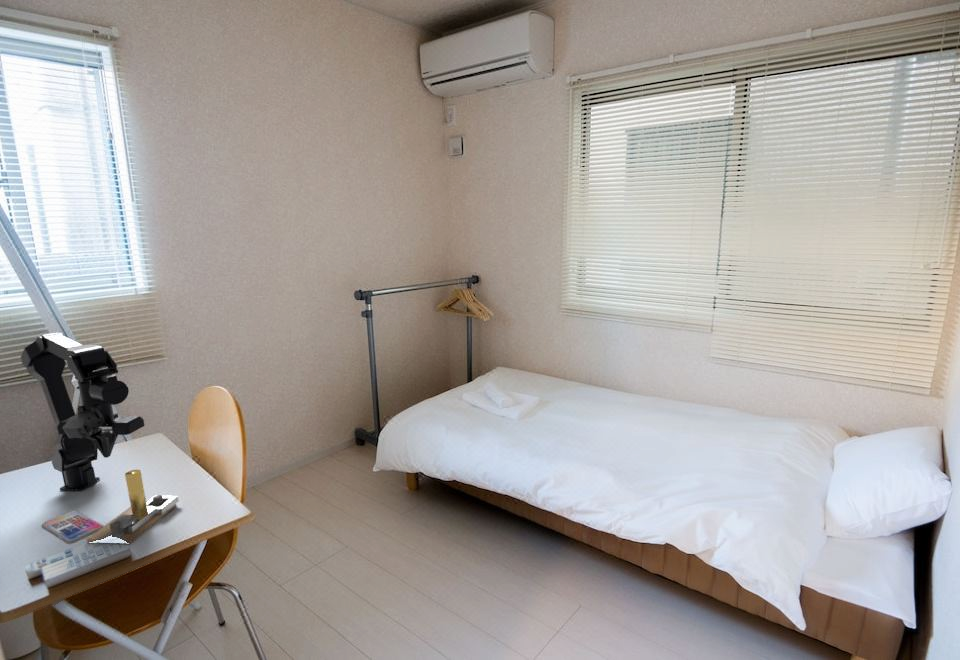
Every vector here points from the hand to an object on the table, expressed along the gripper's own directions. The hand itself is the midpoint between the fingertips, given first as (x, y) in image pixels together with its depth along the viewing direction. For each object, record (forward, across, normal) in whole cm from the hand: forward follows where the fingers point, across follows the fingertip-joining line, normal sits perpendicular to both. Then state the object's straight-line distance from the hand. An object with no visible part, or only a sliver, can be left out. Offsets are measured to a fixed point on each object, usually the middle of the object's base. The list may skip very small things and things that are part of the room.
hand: (107, 456), depth 131 cm
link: (+11, +15, -8) cm, 20 cm away
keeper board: (+12, +12, -9) cm, 20 cm away
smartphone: (+13, -2, -11) cm, 17 cm away
